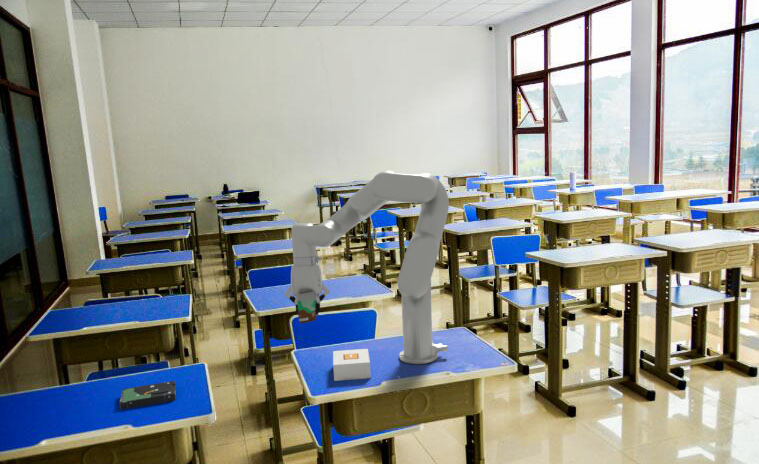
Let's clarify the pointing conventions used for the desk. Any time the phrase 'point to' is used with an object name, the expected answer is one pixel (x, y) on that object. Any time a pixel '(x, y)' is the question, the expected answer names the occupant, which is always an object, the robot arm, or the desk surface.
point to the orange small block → (351, 356)
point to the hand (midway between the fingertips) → (308, 314)
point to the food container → (307, 307)
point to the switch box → (351, 365)
